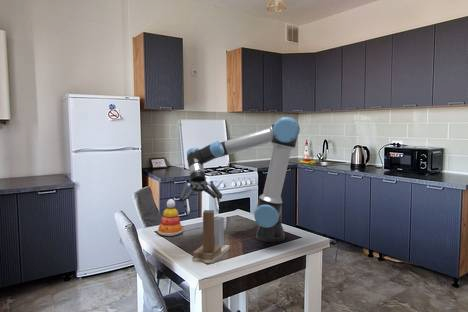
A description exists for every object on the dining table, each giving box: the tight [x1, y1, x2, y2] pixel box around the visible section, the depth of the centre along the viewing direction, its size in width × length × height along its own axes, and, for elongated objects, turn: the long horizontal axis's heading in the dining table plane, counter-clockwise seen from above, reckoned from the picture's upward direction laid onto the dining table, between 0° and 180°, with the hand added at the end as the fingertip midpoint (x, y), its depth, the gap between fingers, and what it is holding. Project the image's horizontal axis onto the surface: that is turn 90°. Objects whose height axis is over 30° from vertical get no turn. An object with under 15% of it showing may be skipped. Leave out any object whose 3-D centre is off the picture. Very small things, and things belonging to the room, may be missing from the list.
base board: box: [191, 244, 231, 265], centre depth 163 cm, size 10×21×4 cm, turn 161°
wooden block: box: [202, 209, 215, 252], centre depth 158 cm, size 9×4×18 cm, turn 179°
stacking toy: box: [156, 198, 184, 237], centre depth 196 cm, size 14×14×20 cm
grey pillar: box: [214, 215, 225, 247], centre depth 169 cm, size 4×6×14 cm, turn 161°
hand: (203, 211), depth 161 cm, fingers open, 13 cm apart
